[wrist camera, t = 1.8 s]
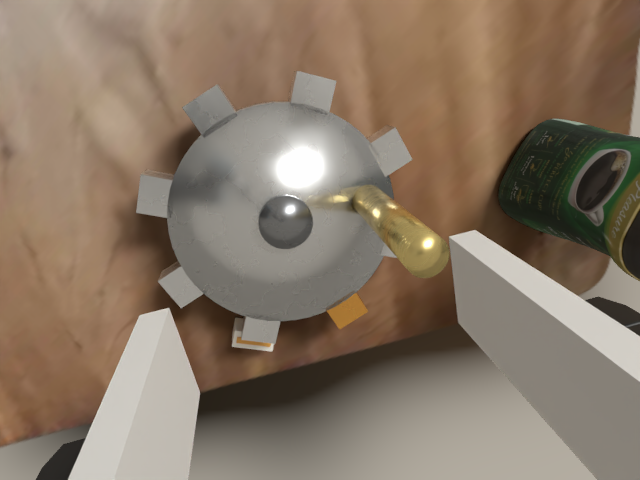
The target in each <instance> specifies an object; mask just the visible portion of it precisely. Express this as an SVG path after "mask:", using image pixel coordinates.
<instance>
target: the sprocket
mask: <svg viewBox="0 0 640 480" xmlns="http://www.w3.org/2000/svg"><path fill="white" fill-rule="evenodd" d="M335 85H336V81H335V80H331V79H327V78H323V77H319V76H315V75H311V74H307V73H304V72H300V71H294V74H293V79H292V83H291V88H290V93H289V98H288V101H271V102H264V103H258V104H254V105H250V106H247V107H243V108H241V109H238V110H235V108H234V107H233V105H232V104H231V102H230V101H229V99H228V98H227V96H226V95H225V93H224V92H223V90H222V89H221V87H220V86H219V84H217V85H215V86H214V87H212V88H211V89H209V90H208V91H206V92H205V93H203V94H202V95H200V96H199V97H197V98H196V99H194V100H193V101H191V102H190V103H188V104H187V105H185V106H184V107H182V108H183V109H184V111H185V112H186V113H187V115H188V116H189V118H190V119H191V120H192V122H193V123H194V125H195V126H196V128H197V129H198V130H199V132H200V133H201V135H200V136H199V137H198V139H197V140H196V141H195V142H194V143H193V144H192V146H191V147H190V148H189V150H188V151H187V153H186V154H185V156H184V157H183V159H182V160H181V162H180V164H179V166H178V168H177V170H176V173H175V175H174V174H169V173H164V172H159V171H154V170H149V169H146V170H145V171H144V172H143V173H142V174H141V177H140V185H139V194H138V202H137V210H136V213H141V214H146V215H152V216H158V217H164V218H167V222H168V231H169V236H170V240H171V244H172V247H173V250H174V252H175V255H176V257H177V259H178V261H177V262H175V263H174V264H172V265H171V266H169V267H167V268H166V269H164V270H163V271H162V272H161V275H160V277H159V279H158V282H159V284H160V285H161V286H162V287H163V288H164V289H165V291H166V292H167V293H168V294H169V295H170V296H171V297H172V299H173V300H174V301H175V302H176V303H177V304H178V306H179V307H180V308H182V307H184V306H186V305H187V304H189V303H190V302H192V301H193V300H195V299H196V298H198V297H200V296H201V295H203V294H205V295H206V296H207V297H209V298H210V299H211V300H213V301H214V302H215V303H217V304H219V305H220V306H222V307H224V308H226V309H228V310H230V311H232V312H235V313H237V314H239V315H242V316H244V317H243V322H242V327H241V340H247V341H255V342H263V343H272V344H275V343H276V339H277V334H278V330H279V326H280V322H281V321H290V320H298V319H303V318H308V317H311V316H314V315H318V314H321V313H323V312H325V311H327V312H328V314H329V315H330V317H331V318H332V319H333V321H334V322H335V324H336V325H337V326H338V328H339V329H341V328H343V327H344V326H346V325H348V324H349V323H351V322H352V321H354V320H355V319H357V318H359V317H360V316H362V315H363V314H365V313H367V312H368V310H367V309H366V307H365V305H364V303H363V301H362V300H361V298H360V297H359V295H358V294H357V291H358V290H359V289H360V288H361V287H362V286H363V285H364V284H365V283H366V282H367V281H368V280H369V278H370V277H371V276H372V275H373V273H374V272H375V270H376V269H377V267H378V266H379V264H380V262H381V261H382V259H383V256H389V257H395V258H398V259H399V260H400V261H401V263H402V264H403V265H404V266H405V267H406V268H407V269H408V271H409V272H410V273H411V274H413V275H414V276H416V277H419V278H429V277H432V276H435V275H437V274H438V273H440V272H441V271H442V270H443V269H444V267H445V266H446V264H447V262H448V259H449V248H448V245H447V243H446V242H445V241H444V240H443V239H442V238H441V237H439V236H438V235H437V234H436V233H434V232H433V231H432V230H431V229H429V228H428V227H427V226H426V225H424V224H423V223H422V222H421V221H419V220H418V219H417V218H416V217H414V216H413V215H412V214H411V213H409V212H408V211H407V210H406V209H404V208H403V207H402V206H401V205H399V204H398V203H397V202H396V201H394V196H393V190H392V186H391V181H390V178H389V174H391V173H392V172H394V171H396V170H397V169H399V168H400V167H402V166H403V165H405V164H406V163H408V162H410V161H411V160H412V158H411V156H410V154H409V152H408V150H407V148H406V146H405V145H404V143H403V141H402V139H401V137H400V135H399V133H398V131H397V129H396V128H395V127H393V126H389V125H386V126H385V127H383V128H382V129H380V130H379V131H377V132H376V133H374V134H372V135H371V136H369V137H368V138H365V137H364V135H363V134H362V133H361V132H360V131H358V130H357V129H356V128H355V127H353V126H352V125H351V124H350V123H348V122H347V121H345V120H343V119H342V118H340V117H338V116H337V115H335V114H332V113H330V112H329V111H330V106H331V102H332V98H333V93H334V89H335Z"/></svg>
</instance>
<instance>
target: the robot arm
mask: <svg viewBox="0 0 640 480" xmlns="http://www.w3.org/2000/svg"><path fill="white" fill-rule="evenodd" d="M449 244H450V253H451V262H452V271H453V280H454V289H455V298H456V307H457V317H458V323H459V324H460V325H461V326H462V328H463V329H464V330H465V331H466V332H467V333H468V334H469V335H470V337H471V338H472V339H473V340H474V341H475V342H476V343H477V344H478V346H480V348H481V349H482V350H483V351H484V352H485V354H486V355H487V356H488V357H489V358H490V359H491V360H492V361H493V363H495V365H496V366H497V367H498V368H499V369H500V370H501V371H502V373H503V374H504V375H505V376H506V377H507V378H508V379H509V381H510V382H511V383H512V384H513V385H514V386H515V387H516V388H517V390H519V392H520V393H521V394H522V395H523V396H524V397H525V398H526V399H527V401H528V402H529V403H530V404H531V405H532V406H533V408H534V409H535V410H536V411H537V412H538V413H539V414H540V415H541V417H542V418H543V419H544V420H545V421H546V422H547V423H548V424H549V426H550V427H551V428H552V429H553V430H554V431H555V432H556V434H557V435H558V436H559V437H560V438H561V439H562V440H563V441H564V443H565V444H566V445H567V446H568V447H569V448H570V449H571V450H572V451H573V453H574V454H575V455H576V456H577V457H578V458H579V459H580V461H581V462H582V463H583V464H584V465H585V466H586V467H587V468H588V470H589V471H590V472H591V473H592V474H593V475H594V476H595V477H596V479H597V480H640V314H639V313H638V312H636V311H635V310H633V309H631V308H630V307H628V306H626V305H623V304H620V303H617V302H613V301H610V300H607V299H604V298H601V297H595V298H592V299H588V300H582V299H581V298H580V297H578V296H577V295H575V294H574V293H572V292H571V291H569V290H567V289H566V288H564V287H563V286H561V285H560V284H558V283H557V282H555V281H553V280H552V279H550V278H549V277H547V276H546V275H544V274H543V273H541V272H540V271H538V270H536V269H535V268H533V267H532V266H530V265H529V264H527V263H526V262H524V261H523V260H521V259H519V258H518V257H516V256H515V255H513V254H512V253H510V252H509V251H507V250H505V249H504V248H502V247H501V246H499V245H498V244H496V243H495V242H493V241H492V240H490V239H488V238H487V237H485V236H484V235H482V234H481V233H479V232H478V231H476V230H473V231H469V232H465V233H461V234H457V235H453V236H449ZM199 396H200V391H199V388H198V386H197V383H196V380H195V377H194V375H193V372H192V369H191V366H190V364H189V361H188V358H187V355H186V353H185V350H184V347H183V344H182V342H181V339H180V336H179V333H178V331H177V328H176V325H175V322H174V320H173V317H172V314H171V311H170V309H169V308H166V309H162V310H158V311H154V312H150V313H146V314H142V315H140V316H139V318H138V320H137V322H136V325H135V327H134V329H133V332H132V334H131V336H130V338H129V341H128V343H127V345H126V348H125V350H124V352H123V354H122V357H121V359H120V361H119V364H118V366H117V368H116V371H115V373H114V375H113V377H112V380H111V382H110V384H109V387H108V389H107V391H106V393H105V396H104V398H103V400H102V403H101V405H100V407H99V409H98V412H97V414H96V416H95V419H94V421H93V423H92V426H91V428H90V430H89V432H88V435H87V437H86V438H85V439H81V440H77V441H74V442H70V443H67V444H63V445H62V446H61V448H60V449H59V450H58V451H57V452H56V453H55V454H54V455H53V457H52V458H51V459H50V460H49V461H48V462H47V463H46V464H45V465H44V466H43V468H42V469H41V471H40V473H39V475H38V477H37V479H36V480H188V477H189V470H190V462H191V455H192V447H193V440H194V433H195V426H196V418H197V411H198V404H199Z"/></svg>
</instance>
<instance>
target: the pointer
mask: <svg viewBox="0 0 640 480" xmlns="http://www.w3.org/2000/svg"><path fill="white" fill-rule="evenodd" d="M242 322H243V318H236V317H235V322H234V327H233V332H232V347H238V348H247V349H255V350H264V351H273V346H274V344H272V343H263V342H255V341H247V340H241V327H242Z"/></svg>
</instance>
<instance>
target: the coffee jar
mask: <svg viewBox="0 0 640 480" xmlns="http://www.w3.org/2000/svg"><path fill="white" fill-rule="evenodd" d="M498 198H499V203H500V205H501V207H502V209H503V211H504V212H505V213H506V214H507V215H509V216H510V217H511V218H513V219H515V220H516V221H518V222H520V223H522V224H524V225H526V226H528V227H531V228H533V229H536V230H538V231H541V232H544V233H547V234H550V235H554V236H557V237H560V238H563V239H567V240H570V241H573V242H576V243H579V244H582V245H585V246H588V247H590V248H593V249H595V250H597V251H600V252H602V253H604V254H606V255H609V256H611V258H612V259H613V261H614V262H615V263H616V264H617V265H618V266H619V267H620V268H621V269H622V270H623V271H624V272H626V273H627V274H628V275H630V276H631V277H633V278H635V279H637V280H638V281H640V138H639V137H633V136H629V135H624V134H620V133H616V132H612V131H608V130H605V129H601V128H597V127H594V126H590V125H586V124H583V123H579V122H574V121H569V120H563V119H550V120H546V121H544V122H542V123H540V124H539V125H537V126H536V127H535V128H534V129H533V130H532V131H531V132H530V133H529V135H528V136H527V137H526V139H525V140H524V142H523V143H522V145H521V146H520V147H519V149H518V150H517V152H516V154H515V155H514V157H513V159H512V161H511V163H510V164H509V166H508V168H507V171H506V173H505V175H504V177H503V179H502V182H501V184H500V187H499V194H498Z"/></svg>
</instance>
